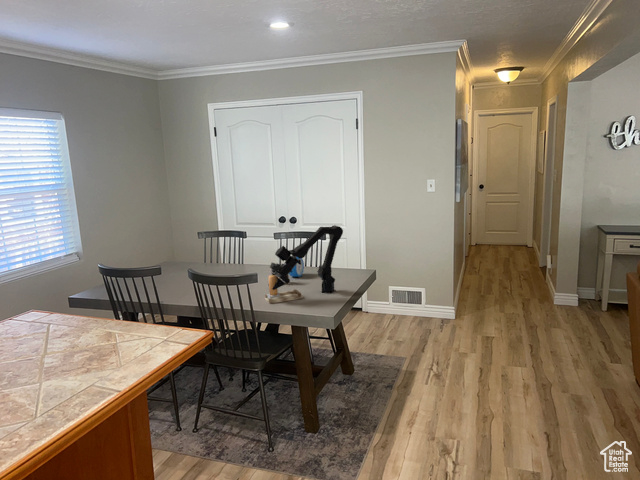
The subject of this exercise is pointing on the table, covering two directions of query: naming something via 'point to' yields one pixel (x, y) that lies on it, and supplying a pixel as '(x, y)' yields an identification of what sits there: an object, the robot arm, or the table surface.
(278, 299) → the track
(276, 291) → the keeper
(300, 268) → the alarm clock
